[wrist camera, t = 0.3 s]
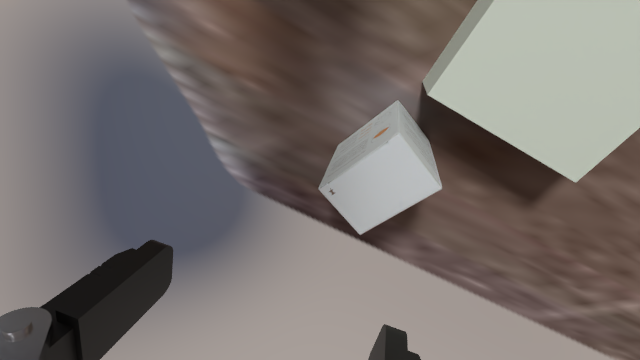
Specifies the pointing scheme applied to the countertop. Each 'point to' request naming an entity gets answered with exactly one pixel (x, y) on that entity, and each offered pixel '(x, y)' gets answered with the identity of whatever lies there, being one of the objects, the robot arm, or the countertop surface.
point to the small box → (381, 170)
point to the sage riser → (546, 77)
